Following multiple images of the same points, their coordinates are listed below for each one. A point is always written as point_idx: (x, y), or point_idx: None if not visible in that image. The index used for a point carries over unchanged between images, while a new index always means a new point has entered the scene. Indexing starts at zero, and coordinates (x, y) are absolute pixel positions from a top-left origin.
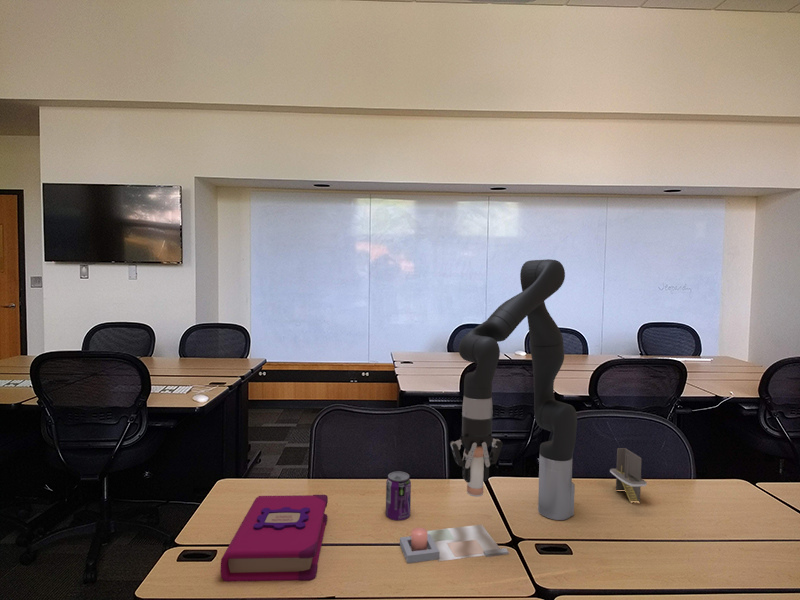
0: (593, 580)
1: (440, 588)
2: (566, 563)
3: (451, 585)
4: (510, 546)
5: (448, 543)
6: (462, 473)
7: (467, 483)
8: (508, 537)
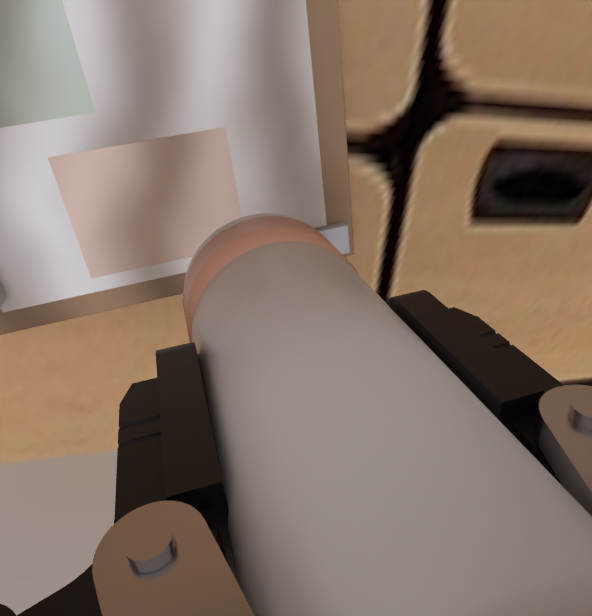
0: (541, 353)
1: (23, 439)
2: (523, 278)
3: (69, 421)
4: (380, 165)
5: (57, 162)
6: (118, 436)
7: (193, 334)
8: (403, 82)
